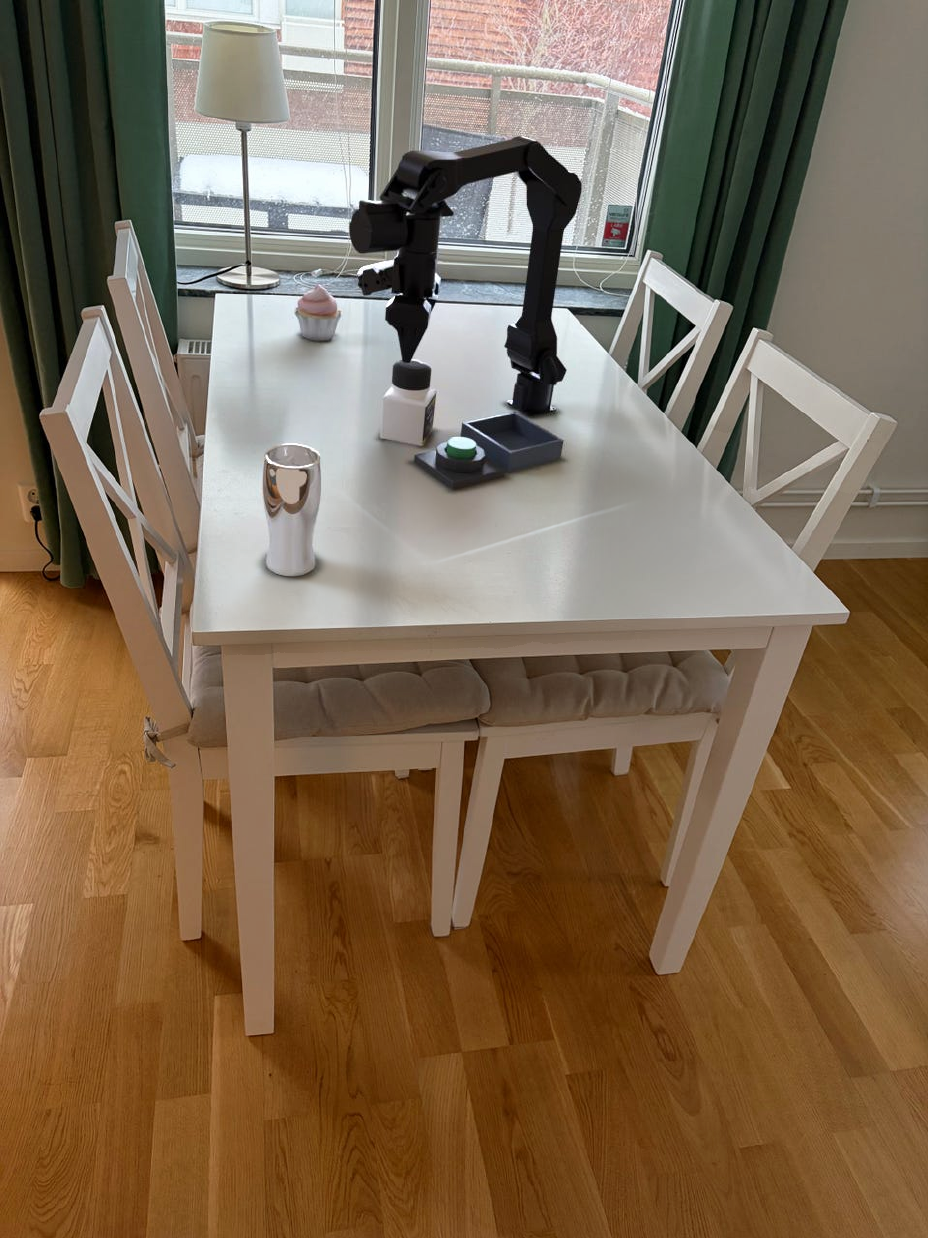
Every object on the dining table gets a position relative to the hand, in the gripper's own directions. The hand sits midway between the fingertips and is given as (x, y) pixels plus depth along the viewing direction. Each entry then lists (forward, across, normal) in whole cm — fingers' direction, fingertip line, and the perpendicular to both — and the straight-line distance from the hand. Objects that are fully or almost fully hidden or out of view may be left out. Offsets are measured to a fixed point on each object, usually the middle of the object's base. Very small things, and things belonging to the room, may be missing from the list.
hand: (409, 352), depth 153 cm
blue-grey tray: (+14, 0, +17) cm, 22 cm away
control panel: (+14, +10, +10) cm, 20 cm away
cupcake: (+14, -40, -22) cm, 48 cm away
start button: (+11, +10, +10) cm, 18 cm away
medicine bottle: (+14, 0, 0) cm, 14 cm away
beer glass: (+14, +43, -9) cm, 46 cm away
